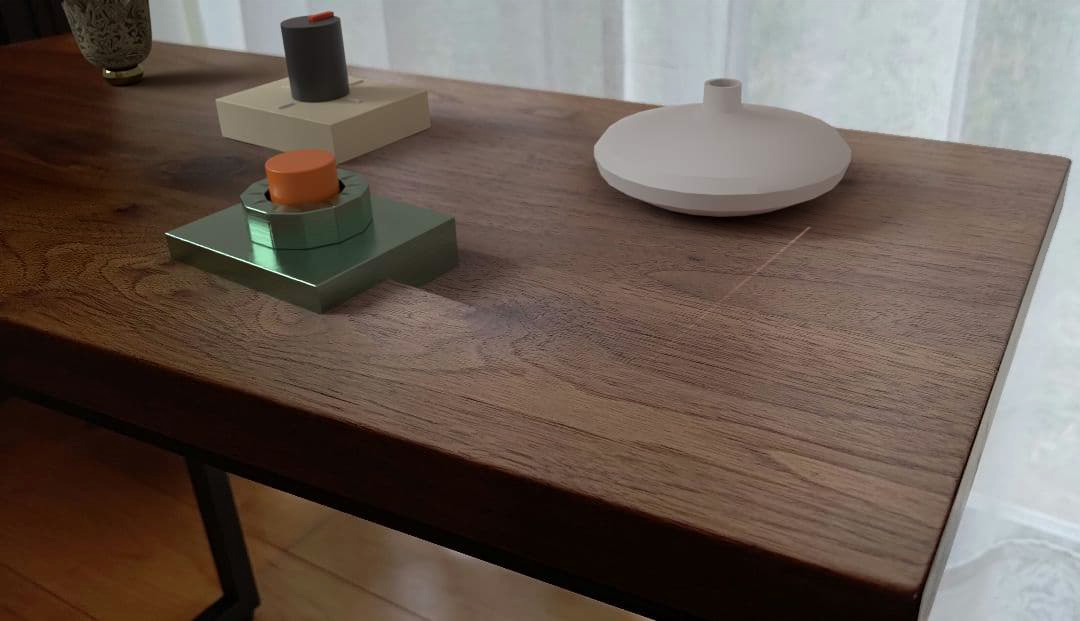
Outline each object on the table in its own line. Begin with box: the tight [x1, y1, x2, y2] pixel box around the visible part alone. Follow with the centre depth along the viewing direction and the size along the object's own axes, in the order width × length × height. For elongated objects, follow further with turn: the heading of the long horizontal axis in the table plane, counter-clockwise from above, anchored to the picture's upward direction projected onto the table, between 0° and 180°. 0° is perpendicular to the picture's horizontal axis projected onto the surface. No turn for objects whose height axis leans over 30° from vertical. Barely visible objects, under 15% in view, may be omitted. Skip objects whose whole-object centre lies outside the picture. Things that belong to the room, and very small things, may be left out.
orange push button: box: [264, 149, 340, 205], centre depth 52 cm, size 4×4×2 cm
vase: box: [593, 77, 852, 218], centre depth 62 cm, size 16×16×7 cm
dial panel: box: [215, 75, 432, 166], centre depth 77 cm, size 13×10×3 cm
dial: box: [279, 10, 350, 102], centre depth 75 cm, size 4×4×6 cm
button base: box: [164, 168, 460, 315], centre depth 54 cm, size 12×10×5 cm
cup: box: [61, 0, 153, 86], centre depth 92 cm, size 8×7×8 cm
